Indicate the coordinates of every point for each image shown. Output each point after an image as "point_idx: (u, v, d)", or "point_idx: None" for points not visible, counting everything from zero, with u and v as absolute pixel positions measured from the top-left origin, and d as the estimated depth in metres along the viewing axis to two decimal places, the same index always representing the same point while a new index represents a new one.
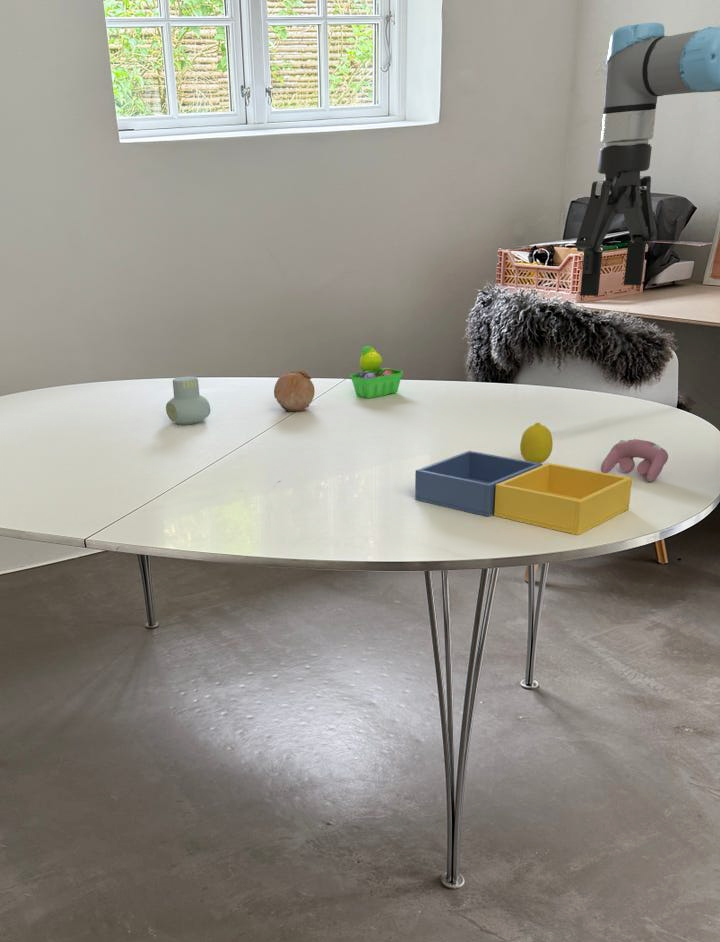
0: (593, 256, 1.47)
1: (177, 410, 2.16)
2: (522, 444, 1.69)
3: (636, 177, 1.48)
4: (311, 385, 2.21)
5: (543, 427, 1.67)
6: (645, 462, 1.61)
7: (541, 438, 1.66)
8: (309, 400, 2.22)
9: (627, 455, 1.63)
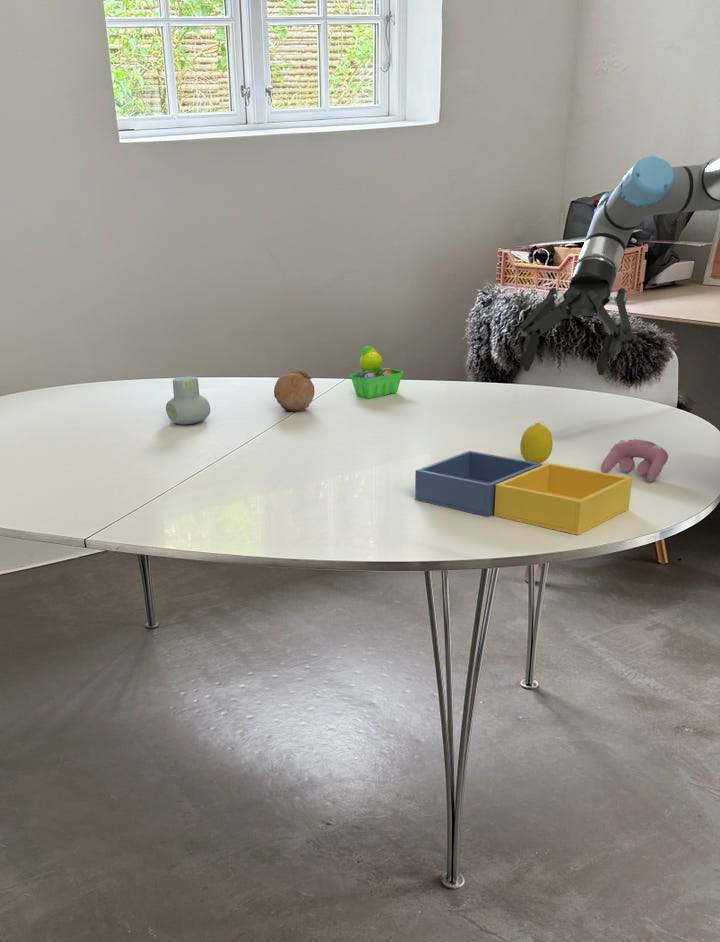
0: (529, 337, 1.76)
1: (177, 410, 2.16)
2: (522, 444, 1.69)
3: (600, 288, 1.73)
4: (311, 385, 2.21)
5: (543, 427, 1.67)
6: (645, 462, 1.61)
7: (541, 438, 1.66)
8: (309, 400, 2.22)
9: (627, 455, 1.63)
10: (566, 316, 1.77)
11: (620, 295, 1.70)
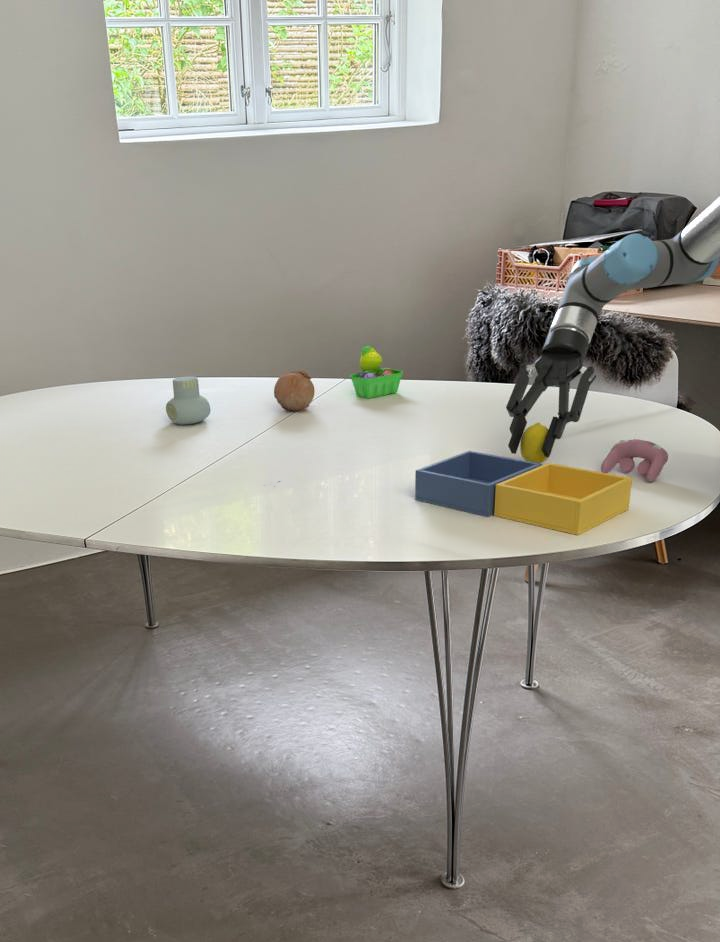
0: (516, 418, 1.70)
1: (177, 410, 2.16)
2: (522, 444, 1.69)
3: (571, 359, 1.68)
4: (311, 385, 2.21)
5: (543, 427, 1.67)
6: (645, 462, 1.61)
7: (541, 438, 1.66)
8: (309, 400, 2.22)
9: (627, 455, 1.63)
10: (544, 389, 1.71)
11: (586, 373, 1.66)
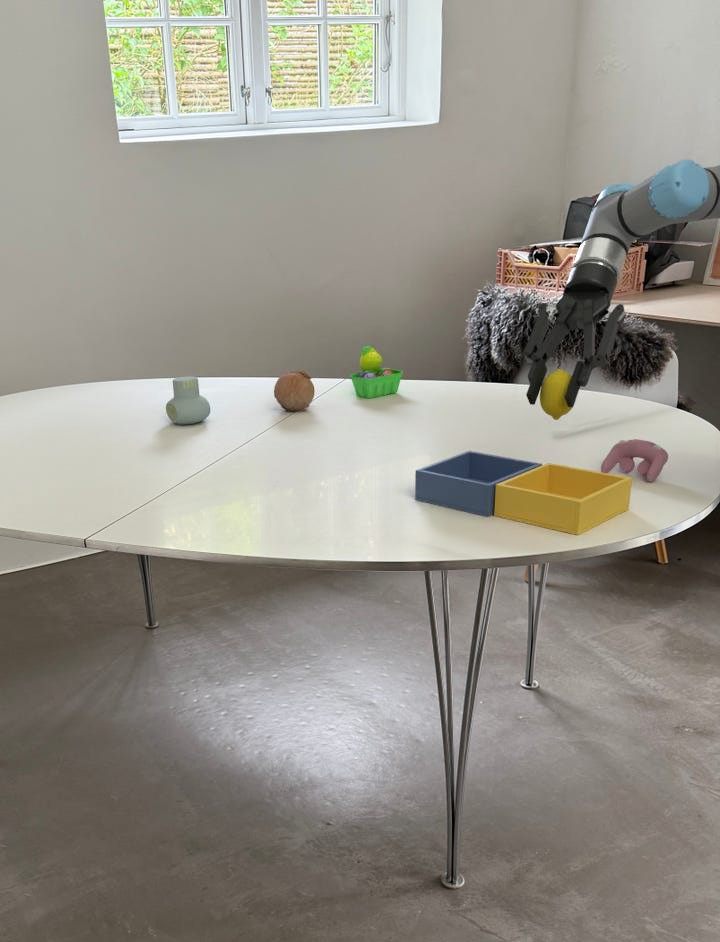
0: (535, 364, 1.50)
1: (177, 410, 2.16)
2: (542, 393, 1.49)
3: (598, 297, 1.49)
4: (311, 385, 2.21)
5: (566, 374, 1.48)
6: (645, 462, 1.61)
7: (564, 386, 1.47)
8: (309, 400, 2.22)
9: (627, 455, 1.63)
10: (567, 332, 1.52)
11: (615, 312, 1.46)
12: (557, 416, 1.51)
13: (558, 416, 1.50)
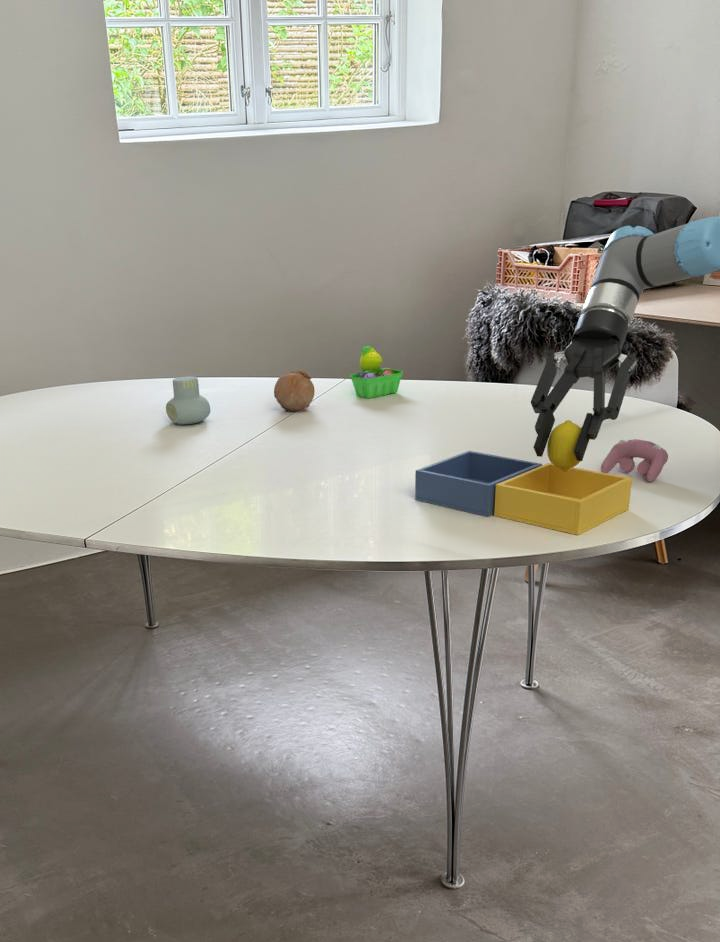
0: (542, 415, 1.44)
1: (177, 410, 2.16)
2: (550, 445, 1.43)
3: (608, 345, 1.43)
4: (311, 385, 2.21)
5: (575, 425, 1.42)
6: (645, 462, 1.61)
7: (573, 438, 1.41)
8: (309, 400, 2.22)
9: (627, 455, 1.63)
10: (576, 380, 1.46)
11: (627, 362, 1.40)
12: (565, 469, 1.45)
13: (566, 468, 1.45)
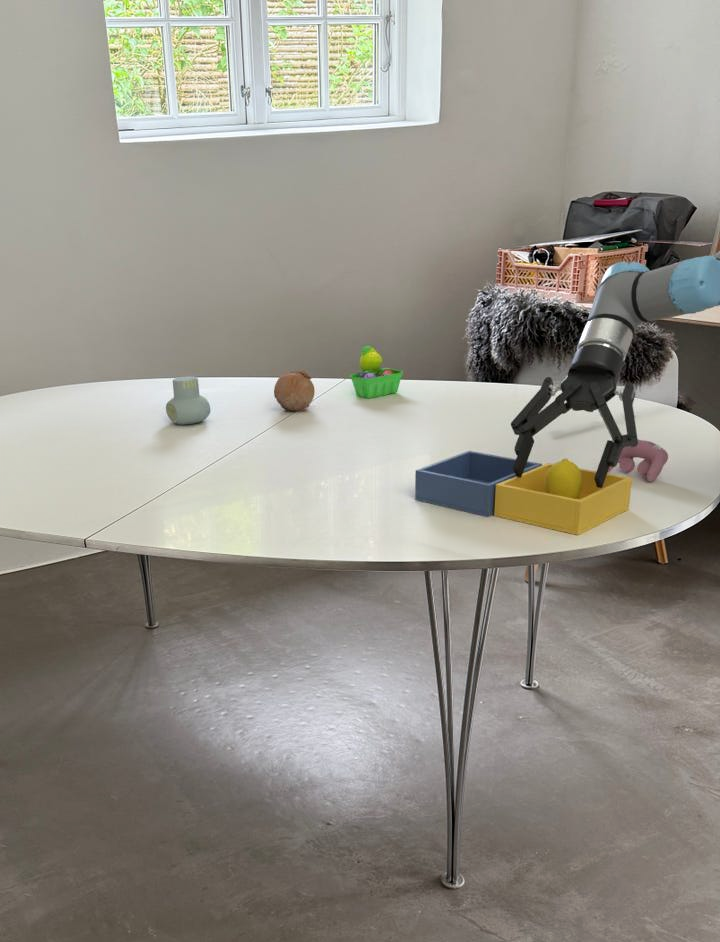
0: (522, 437, 1.49)
1: (177, 410, 2.16)
2: (547, 483, 1.46)
3: (604, 379, 1.45)
4: (311, 385, 2.21)
5: (571, 464, 1.44)
6: (645, 462, 1.61)
7: (570, 477, 1.44)
8: (309, 400, 2.22)
9: (627, 455, 1.63)
10: (565, 411, 1.49)
11: (627, 391, 1.43)
12: None
13: None
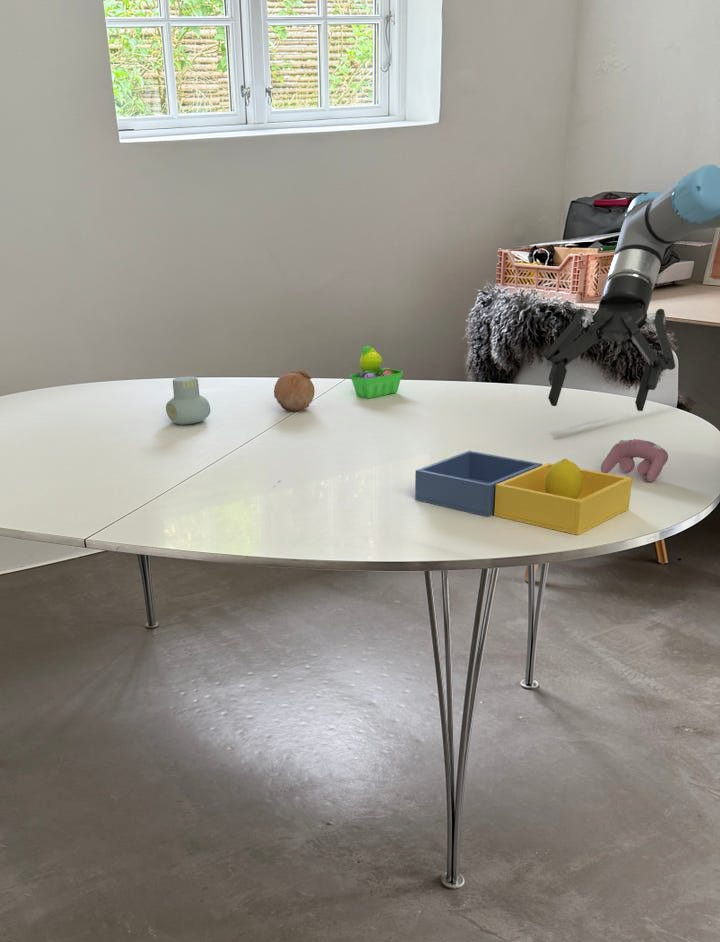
0: (555, 367, 1.56)
1: (177, 410, 2.16)
2: (547, 483, 1.46)
3: (635, 309, 1.51)
4: (311, 385, 2.21)
5: (571, 464, 1.44)
6: (645, 462, 1.61)
7: (570, 477, 1.44)
8: (309, 400, 2.22)
9: (627, 455, 1.63)
10: (596, 341, 1.56)
11: (659, 317, 1.49)
12: None
13: None
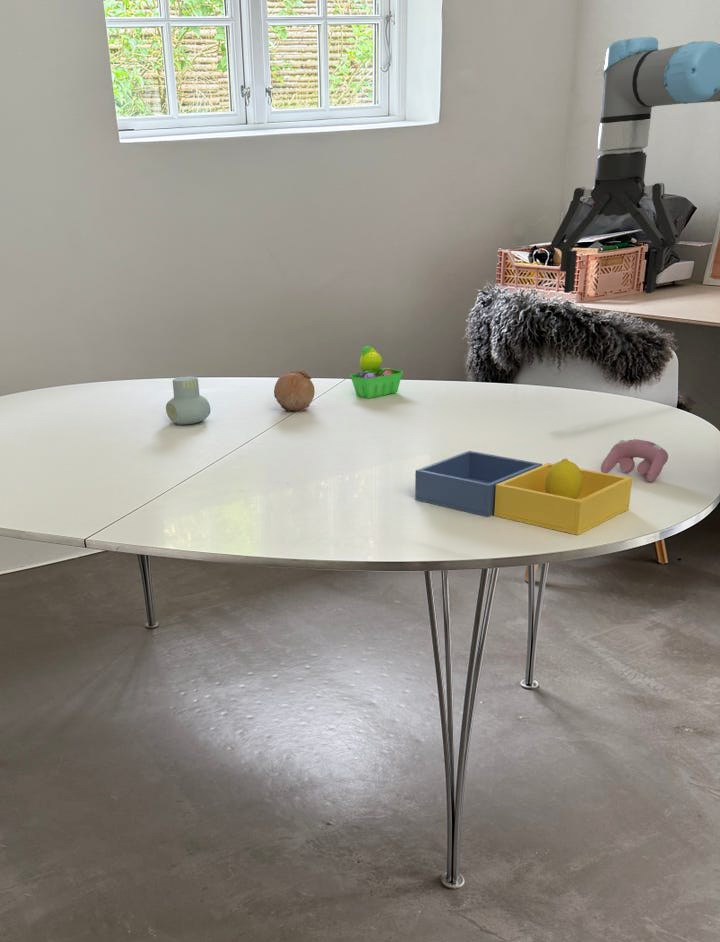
0: (564, 255, 1.63)
1: (177, 410, 2.16)
2: (547, 483, 1.46)
3: (631, 184, 1.52)
4: (311, 385, 2.21)
5: (571, 464, 1.44)
6: (645, 462, 1.61)
7: (570, 477, 1.44)
8: (309, 400, 2.22)
9: (627, 455, 1.63)
10: (600, 215, 1.59)
11: (656, 194, 1.51)
12: None
13: None
